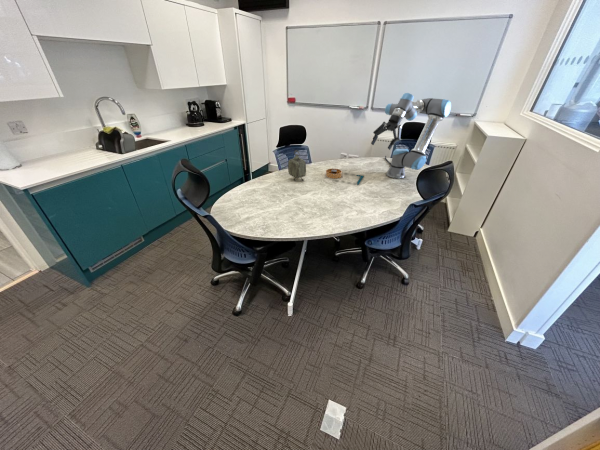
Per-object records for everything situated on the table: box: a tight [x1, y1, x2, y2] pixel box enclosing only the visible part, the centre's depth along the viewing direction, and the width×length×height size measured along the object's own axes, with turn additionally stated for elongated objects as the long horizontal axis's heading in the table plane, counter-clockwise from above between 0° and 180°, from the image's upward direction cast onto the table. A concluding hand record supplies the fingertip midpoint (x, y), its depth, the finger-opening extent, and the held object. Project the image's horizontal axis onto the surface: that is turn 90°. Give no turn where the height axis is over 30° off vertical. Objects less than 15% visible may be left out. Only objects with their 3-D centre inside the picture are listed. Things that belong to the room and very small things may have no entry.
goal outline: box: [356, 174, 364, 186], centre depth 213 cm, size 22×22×1 cm
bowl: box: [325, 168, 343, 179], centre depth 216 cm, size 14×14×4 cm
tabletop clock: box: [287, 150, 307, 182], centre depth 203 cm, size 14×9×25 cm, turn 34°
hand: (380, 146), depth 166 cm, fingers open, 13 cm apart
